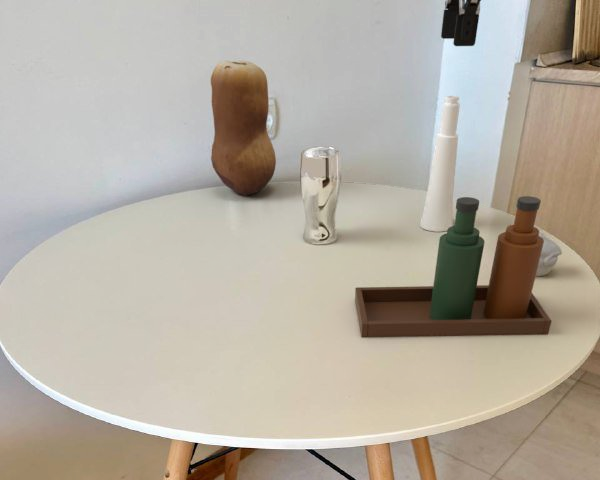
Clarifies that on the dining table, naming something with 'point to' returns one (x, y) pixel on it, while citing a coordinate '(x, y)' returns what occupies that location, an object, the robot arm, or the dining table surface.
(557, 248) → the frog figurine
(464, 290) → the green bottle
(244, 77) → the butternut squash
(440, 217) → the cosmetic bottle
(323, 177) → the beer glass
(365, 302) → the tray
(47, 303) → the dining table surface
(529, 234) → the amber bottle
